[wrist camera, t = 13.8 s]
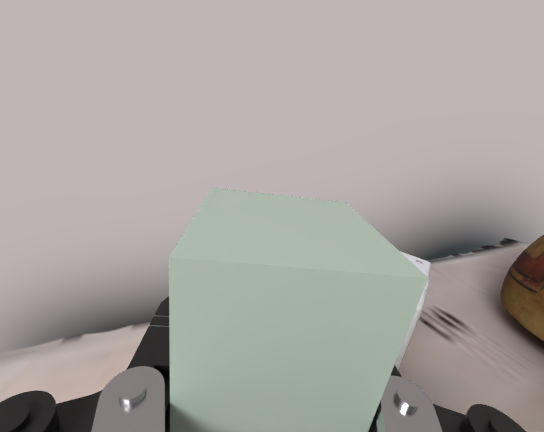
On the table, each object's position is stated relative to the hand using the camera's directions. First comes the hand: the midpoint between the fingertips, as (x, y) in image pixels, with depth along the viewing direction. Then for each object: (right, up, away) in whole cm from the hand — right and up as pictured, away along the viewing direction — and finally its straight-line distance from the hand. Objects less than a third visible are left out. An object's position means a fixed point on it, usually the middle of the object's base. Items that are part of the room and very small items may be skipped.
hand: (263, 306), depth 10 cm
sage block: (-1, -7, 0) cm, 7 cm away
